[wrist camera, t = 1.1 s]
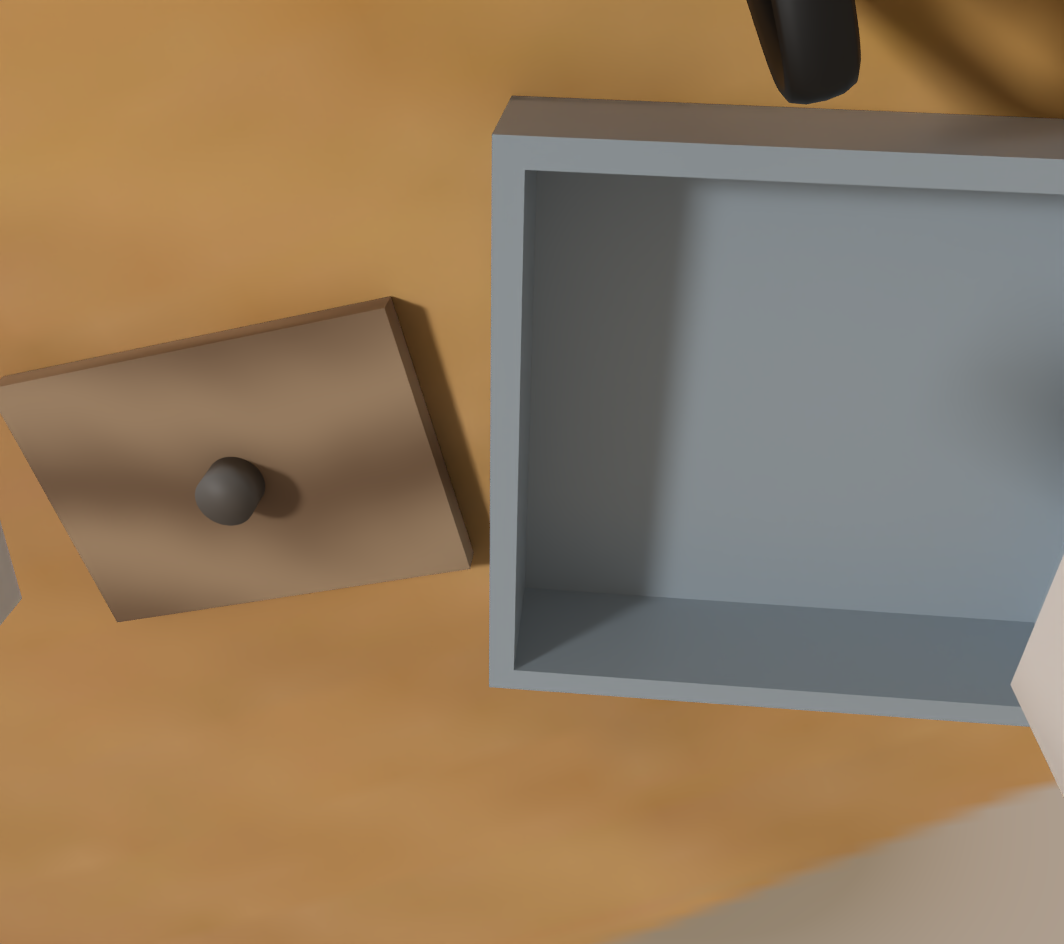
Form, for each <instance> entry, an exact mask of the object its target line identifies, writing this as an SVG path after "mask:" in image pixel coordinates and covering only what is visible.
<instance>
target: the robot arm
mask: <svg viewBox="0 0 1064 944" xmlns="http://www.w3.org/2000/svg"><path fill="white" fill-rule="evenodd" d="M21 599H22V597H21V593H20V590H19V586H18V583H17V579H16V576H15V572H14V569H13V565H12V561H11V558H10V554H9V551H8V547H7V544H6V540H5V537H4V533H3V529H2V526H1V522H0V625H1V624H2V622H3V621H4V620H5V619H6V617H7V616H8V615H9V614H10V612H11V611H12V610H13V609H14V608H15V606H16V605H17V604H18V603H19V601H20V600H21ZM1010 685H1011V687H1012V689H1013V691H1014V693H1015V696H1016V698H1017V700H1018V702H1019V704H1020V706H1021V708H1022V710H1023V712H1024V715H1025V717H1026V719H1027V721H1028V723H1029V725H1030V727H1031V729H1032V732H1033V734H1034V736H1035V738H1036V740H1037V742H1038V744H1039V746H1040V748H1041V751H1042V753H1043V755H1044V757H1045V759H1046V761H1047V763H1048V765H1049V768H1050V770H1051V772H1052V774H1053V776H1054V778H1055V780H1056V782H1057V784H1058V787H1059V789H1060V791H1061V793H1062V795H1063V797H1064V555H1063V557H1062V560H1061V562H1060V565H1059V567H1058V569H1057V572H1056V574H1055V577H1054V579H1053V582H1052V584H1051V587H1050V589H1049V591H1048V594H1047V596H1046V599H1045V601H1044V604H1043V606H1042V609H1041V611H1040V613H1039V616H1038V618H1037V621H1036V623H1035V626H1034V628H1033V631H1032V633H1031V636H1030V638H1029V640H1028V643H1027V645H1026V648H1025V650H1024V653H1023V655H1022V658H1021V660H1020V662H1019V665H1018V667H1017V670H1016V672H1015V675H1014V677H1013V680H1012V682H1011V684H1010Z"/></svg>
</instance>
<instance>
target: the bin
mask: <svg viewBox="0 0 1064 944" xmlns="http://www.w3.org/2000/svg"><path fill="white" fill-rule="evenodd" d="M1063 555H1064V119H1057V118H1033V117H1010V116H986V115H962V114H938V113H914V112H890V111H866V110H842V109H818V108H794V107H770V106H746V105H722V104H698V103H674V102H650V101H626V100H602V99H579V98H555V97H531V96H511V98H510V100H509V102H508V104H507V106H506V108H505V110H504V112H503V114H502V116H501V118H500V120H499V122H498V124H497V126H496V128H495V130H494V132H493V134H492V249H491V436H490V624H489V687H496V688H510V689H524V690H537V691H551V692H565V693H578V694H592V695H606V696H619V697H633V698H646V699H660V700H674V701H687V702H701V703H715V704H728V705H742V706H756V707H769V708H783V709H796V710H810V711H824V712H837V713H851V714H865V715H878V716H892V717H905V718H919V719H933V720H946V721H960V722H974V723H987V724H1001V725H1015V726H1028V727H1030V725H1029V723H1028V721H1027V719H1026V717H1025V715H1024V712H1023V710H1022V708H1021V706H1020V704H1019V702H1018V700H1017V698H1016V696H1015V693H1014V691H1013V689H1012V687H1011V685H1010V684H1011V682H1012V680H1013V677H1014V675H1015V672H1016V670H1017V667H1018V665H1019V662H1020V660H1021V658H1022V655H1023V653H1024V650H1025V648H1026V645H1027V643H1028V640H1029V638H1030V636H1031V633H1032V631H1033V628H1034V626H1035V623H1036V621H1037V618H1038V616H1039V613H1040V611H1041V609H1042V606H1043V604H1044V601H1045V599H1046V596H1047V594H1048V591H1049V589H1050V587H1051V584H1052V582H1053V579H1054V577H1055V574H1056V572H1057V569H1058V567H1059V565H1060V562H1061V560H1062V557H1063Z"/></svg>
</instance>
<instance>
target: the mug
mask: <svg viewBox="0 0 1064 944" xmlns="http://www.w3.org/2000/svg"><path fill="white" fill-rule="evenodd" d="M747 3H748V6H749V9H750V12H751V16H752V19H753V22H754V25H755V28H756V31H757V34H758V37H759V40H760V44H761V47H762V50H763V52H764V55H765V58H766V61H767V64H768V67H769V69H770V72H771V75H772V77H773V80H774V82H775V84H776V86H777V88H778V90H779V91H780V93H781V94H782V95H783V96H784V97H785V99H786V100H787V101H788V102H789V103H797V104H811V103H816V102H821V101H826V100H828V99H831V98H833V97H836V96H839V95H841V94H844V93H845V92H846V91H847V90H849V89H850V88H851V87H852V86H853V85H854V84H856V83H857V80H858V75H859V69H860V62H861V50H860V37H859V28H858V20H857V13H856V6H855V0H747Z"/></svg>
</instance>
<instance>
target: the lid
mask: <svg viewBox="0 0 1064 944" xmlns="http://www.w3.org/2000/svg"><path fill="white" fill-rule="evenodd" d="M0 413H1V415H2V417H3V418H4V420H5V422H6V424H7V426H8V427H9V429H10V431H11V433H12V435H13V436H14V438H15V440H16V442H17V443H18V445H19V447H20V449H21V451H22V452H23V454H24V456H25V458H26V460H27V461H28V463H29V465H30V467H31V469H32V470H33V472H34V474H35V476H36V478H37V479H38V481H39V483H40V485H41V486H42V488H43V490H44V492H45V494H46V495H47V497H48V499H49V501H50V503H51V504H52V506H53V508H54V510H55V512H56V513H57V515H58V517H59V519H60V521H61V522H62V524H63V526H64V528H65V529H66V531H67V533H68V535H69V537H70V538H71V540H72V542H73V544H74V546H75V547H76V549H77V551H78V553H79V555H80V556H81V558H82V560H83V562H84V563H85V565H86V567H87V569H88V571H89V572H90V574H91V576H92V578H93V580H94V581H95V583H96V585H97V587H98V589H99V590H100V592H101V594H102V596H103V598H104V599H105V601H106V603H107V605H108V606H109V608H110V610H111V612H112V614H113V615H114V617H115V619H116V621H117V622H122V621H129V620H136V619H142V618H149V617H155V616H162V615H169V614H175V613H182V612H188V611H195V610H202V609H208V608H215V607H221V606H228V605H235V604H241V603H248V602H254V601H261V600H268V599H274V598H281V597H287V596H294V595H301V594H307V593H314V592H320V591H327V590H334V589H340V588H347V587H353V586H360V585H367V584H373V583H380V582H386V581H393V580H400V579H406V578H413V577H419V576H426V575H433V574H439V573H446V572H452V571H459V570H466V569H470V567H471V562H472V558H473V553H474V552H473V549H472V546H471V543H470V540H469V537H468V533H467V530H466V527H465V524H464V521H463V518H462V515H461V512H460V509H459V506H458V502H457V499H456V496H455V493H454V490H453V487H452V484H451V481H450V478H449V475H448V472H447V468H446V465H445V462H444V459H443V456H442V453H441V450H440V447H439V444H438V441H437V438H436V434H435V431H434V428H433V425H432V422H431V419H430V416H429V413H428V410H427V407H426V403H425V400H424V397H423V394H422V391H421V388H420V385H419V382H418V379H417V376H416V373H415V369H414V366H413V363H412V360H411V357H410V354H409V351H408V348H407V345H406V342H405V339H404V335H403V332H402V329H401V326H400V323H399V320H398V317H397V314H396V311H395V308H394V304H393V301H392V298H391V296H390V297H385V298H380V299H376V300H371V301H366V302H361V303H356V304H351V305H347V306H342V307H337V308H332V309H327V310H322V311H318V312H313V313H308V314H303V315H298V316H293V317H289V318H284V319H279V320H274V321H269V322H264V323H260V324H255V325H250V326H245V327H240V328H235V329H231V330H226V331H221V332H216V333H211V334H206V335H202V336H197V337H192V338H187V339H182V340H177V341H173V342H168V343H163V344H158V345H153V346H148V347H144V348H139V349H134V350H129V351H124V352H119V353H115V354H110V355H105V356H100V357H95V358H90V359H86V360H81V361H76V362H71V363H66V364H61V365H57V366H52V367H47V368H42V369H37V370H32V371H28V372H23V373H18V374H13V375H8V376H3V377H2V378H1V379H0Z"/></svg>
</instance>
